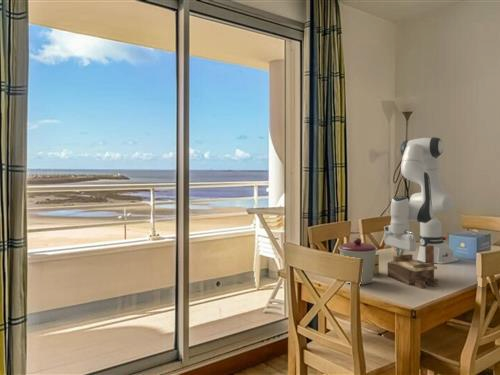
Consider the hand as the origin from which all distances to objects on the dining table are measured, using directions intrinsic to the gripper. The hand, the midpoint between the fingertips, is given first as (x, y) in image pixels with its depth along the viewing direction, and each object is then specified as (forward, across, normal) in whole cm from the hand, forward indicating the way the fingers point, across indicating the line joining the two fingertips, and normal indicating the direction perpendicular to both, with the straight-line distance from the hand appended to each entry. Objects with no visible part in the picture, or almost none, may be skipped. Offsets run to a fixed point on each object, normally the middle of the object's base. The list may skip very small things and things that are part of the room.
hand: (399, 256), depth 204 cm
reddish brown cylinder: (+10, -9, -10) cm, 17 cm away
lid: (+2, -10, 0) cm, 10 cm away
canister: (+10, -2, +25) cm, 27 cm away
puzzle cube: (+10, +11, +13) cm, 20 cm away
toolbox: (+10, -9, 0) cm, 13 cm away
